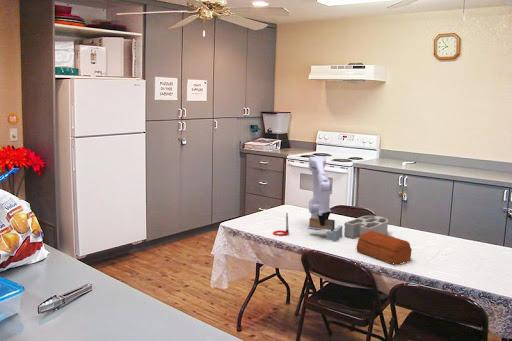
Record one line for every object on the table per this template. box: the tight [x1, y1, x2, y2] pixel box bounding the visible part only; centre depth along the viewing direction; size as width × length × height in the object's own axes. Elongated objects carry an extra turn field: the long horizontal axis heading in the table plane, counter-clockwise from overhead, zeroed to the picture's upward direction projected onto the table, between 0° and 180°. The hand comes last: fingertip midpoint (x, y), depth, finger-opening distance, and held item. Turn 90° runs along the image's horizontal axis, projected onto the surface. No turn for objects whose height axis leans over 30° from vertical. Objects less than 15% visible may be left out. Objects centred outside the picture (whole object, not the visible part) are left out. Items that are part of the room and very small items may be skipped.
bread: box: [356, 231, 412, 265], centre depth 250 cm, size 16×27×11 cm, turn 37°
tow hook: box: [272, 212, 290, 237], centre depth 284 cm, size 8×13×9 cm
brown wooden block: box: [308, 216, 336, 231], centre depth 281 cm, size 4×14×5 cm, turn 63°
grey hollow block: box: [343, 215, 389, 239], centre depth 286 cm, size 17×28×9 cm, turn 138°
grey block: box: [326, 225, 344, 242], centre depth 278 cm, size 12×6×6 cm, turn 153°
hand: (323, 224), depth 281 cm, fingers closed on brown wooden block, 4 cm apart
